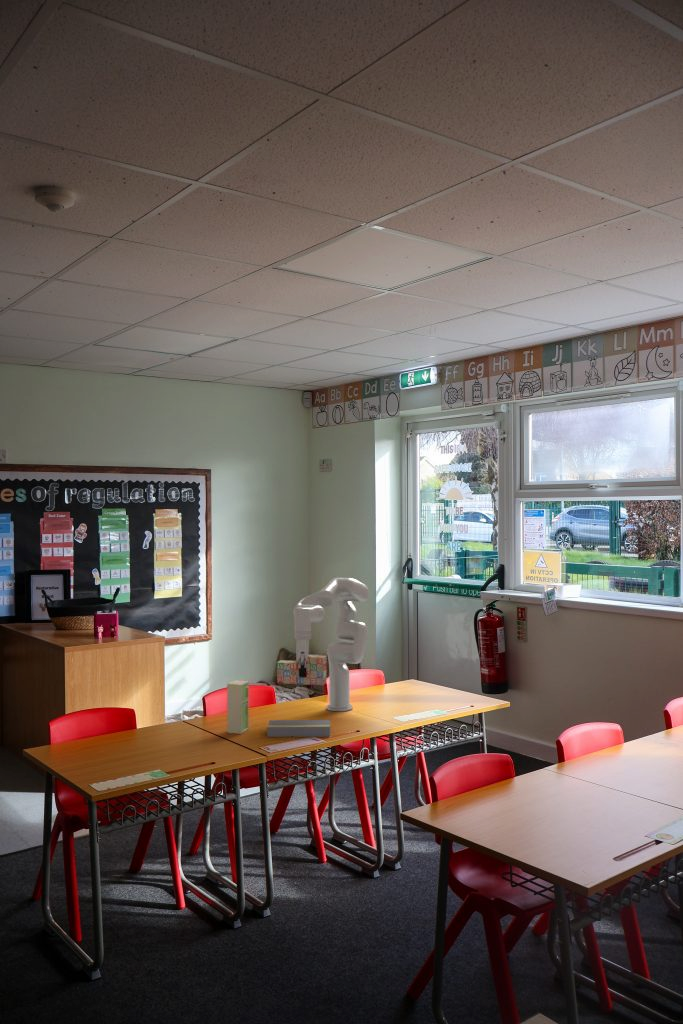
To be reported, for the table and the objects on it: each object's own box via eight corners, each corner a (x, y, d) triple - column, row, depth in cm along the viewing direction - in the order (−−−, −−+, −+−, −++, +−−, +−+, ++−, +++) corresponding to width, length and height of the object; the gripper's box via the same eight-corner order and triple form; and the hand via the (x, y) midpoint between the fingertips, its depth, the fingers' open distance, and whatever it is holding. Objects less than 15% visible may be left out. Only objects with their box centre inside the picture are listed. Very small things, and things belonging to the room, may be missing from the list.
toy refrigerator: (242, 734, 360) (242, 684, 360) (226, 733, 362) (226, 683, 362) (250, 729, 367) (250, 681, 368) (235, 728, 370) (235, 680, 370)
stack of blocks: (276, 683, 377) (276, 655, 377) (280, 680, 383) (280, 653, 383) (323, 685, 373) (323, 657, 373) (326, 682, 379) (326, 654, 379)
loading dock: (269, 729, 368) (269, 719, 368) (330, 729, 368) (330, 719, 368) (267, 736, 356) (267, 726, 356) (329, 736, 356) (329, 726, 356)
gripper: (295, 632, 386) (295, 671, 386) (293, 637, 369) (293, 679, 369) (312, 632, 386) (312, 671, 386) (310, 637, 369) (310, 679, 369)
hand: (303, 675), depth 378 cm, fingers closed on stack of blocks, 7 cm apart
